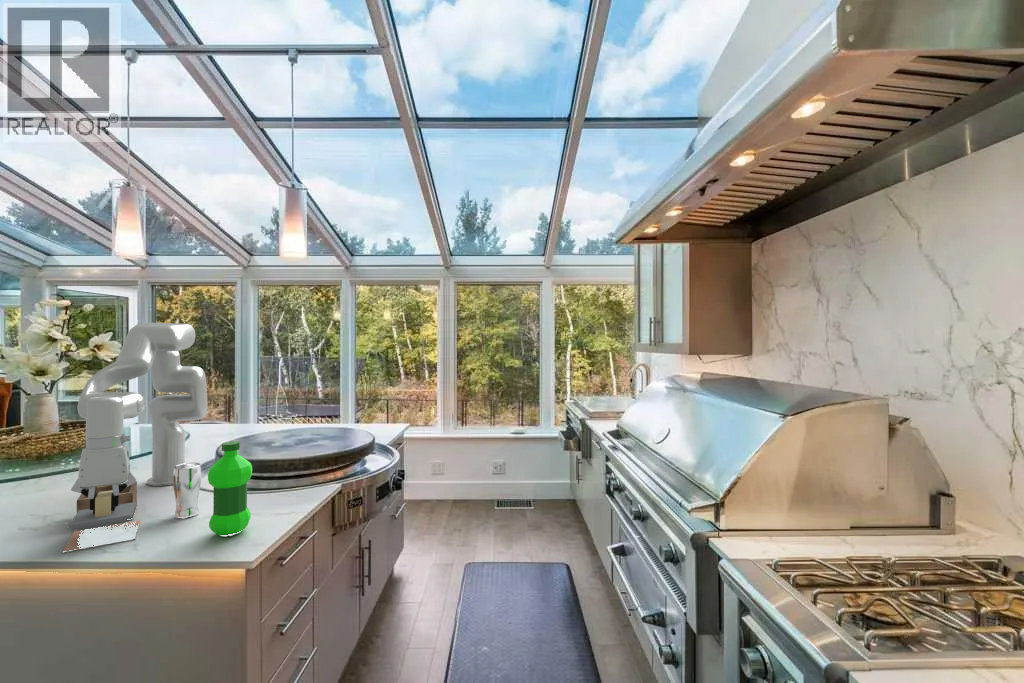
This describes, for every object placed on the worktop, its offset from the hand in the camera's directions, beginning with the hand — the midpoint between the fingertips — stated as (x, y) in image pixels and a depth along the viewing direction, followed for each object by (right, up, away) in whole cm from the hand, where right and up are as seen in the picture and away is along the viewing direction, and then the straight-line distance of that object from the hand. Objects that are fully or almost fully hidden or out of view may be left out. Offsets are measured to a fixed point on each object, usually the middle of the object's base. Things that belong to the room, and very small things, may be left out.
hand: (104, 510), depth 123 cm
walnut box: (-10, -7, +12) cm, 17 cm away
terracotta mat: (0, -7, 0) cm, 7 cm away
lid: (0, -3, 0) cm, 3 cm away
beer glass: (+11, -7, +15) cm, 20 cm away
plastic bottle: (+32, -8, +3) cm, 33 cm away
